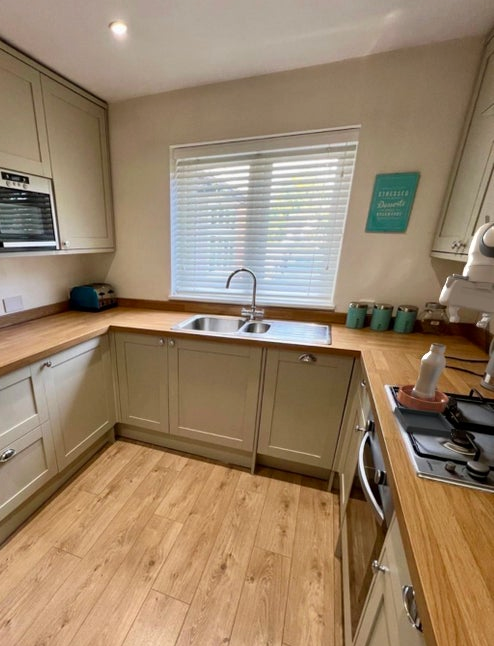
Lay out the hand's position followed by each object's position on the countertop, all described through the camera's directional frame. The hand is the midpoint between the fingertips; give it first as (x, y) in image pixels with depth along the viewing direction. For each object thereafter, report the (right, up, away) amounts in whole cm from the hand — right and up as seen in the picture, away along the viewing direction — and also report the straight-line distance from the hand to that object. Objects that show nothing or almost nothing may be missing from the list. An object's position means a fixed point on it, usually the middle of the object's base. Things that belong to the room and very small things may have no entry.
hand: (467, 324), depth 101 cm
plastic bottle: (-9, -25, +7) cm, 28 cm away
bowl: (-9, -25, +7) cm, 28 cm away
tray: (-17, -30, -4) cm, 34 cm away
